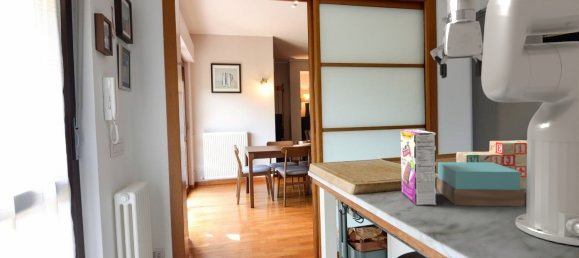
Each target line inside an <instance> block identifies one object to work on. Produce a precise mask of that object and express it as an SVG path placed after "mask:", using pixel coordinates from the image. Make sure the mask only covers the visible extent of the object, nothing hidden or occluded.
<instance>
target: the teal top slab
mask: <svg viewBox="0 0 579 258" xmlns="http://www.w3.org/2000/svg"><path fill="white" fill-rule="evenodd" d="M437 177H438V178H440V179H441V180H443V181H444V182H446V183H447V184H449V185H450V186H451V187H453V188H454V189H470V190H520V172H519V171H516V170H513V169H510V168H507V167H504V166H501V165H499V164H496V163H493V162H456V161H453V162H452V161H451V162H450V161H449V162H445V161H443V162H442V161H440V162H439V161H438V162H437Z"/></svg>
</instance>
